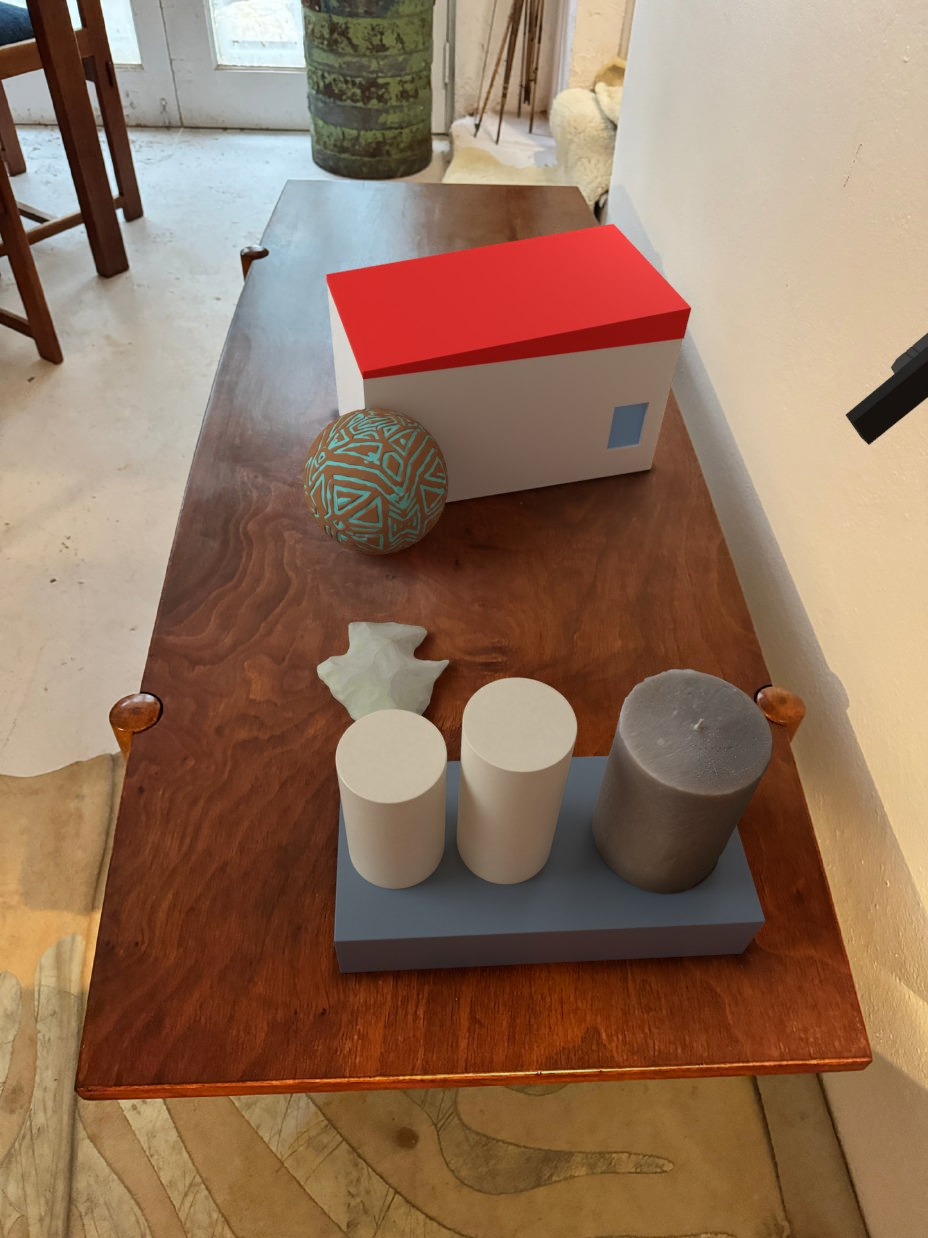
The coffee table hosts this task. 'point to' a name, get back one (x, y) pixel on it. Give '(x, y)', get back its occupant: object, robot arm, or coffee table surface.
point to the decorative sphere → (375, 481)
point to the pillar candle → (678, 779)
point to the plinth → (539, 903)
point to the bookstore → (516, 356)
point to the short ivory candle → (393, 796)
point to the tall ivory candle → (512, 777)
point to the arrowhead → (381, 670)
